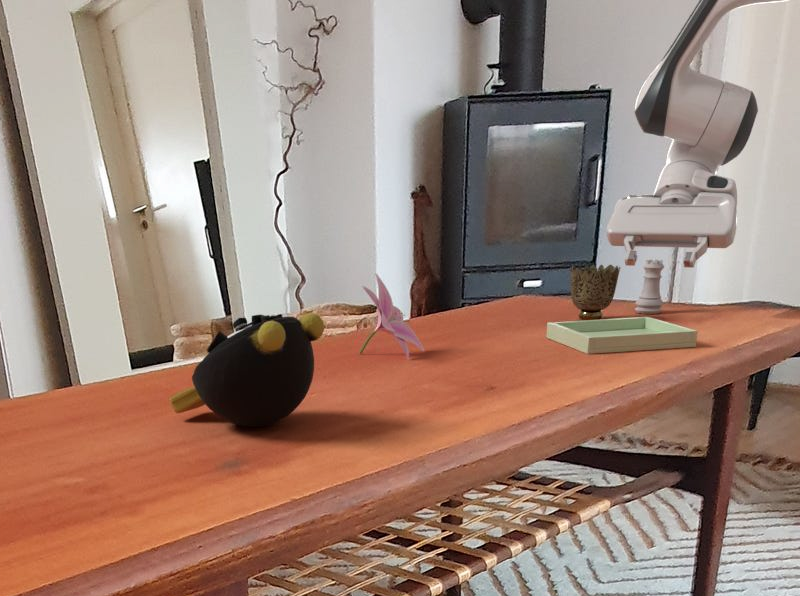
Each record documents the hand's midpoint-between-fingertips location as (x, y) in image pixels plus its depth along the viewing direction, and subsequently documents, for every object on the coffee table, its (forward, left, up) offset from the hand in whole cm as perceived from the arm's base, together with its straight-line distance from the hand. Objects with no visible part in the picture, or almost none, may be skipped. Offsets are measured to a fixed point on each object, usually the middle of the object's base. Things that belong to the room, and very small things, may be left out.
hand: (658, 264), depth 157 cm
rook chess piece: (+1, +3, -7) cm, 8 cm away
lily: (+40, +41, -7) cm, 58 cm away
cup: (+11, +11, -7) cm, 17 cm away
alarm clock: (+51, +79, -7) cm, 94 cm away
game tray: (+9, +31, -7) cm, 33 cm away
